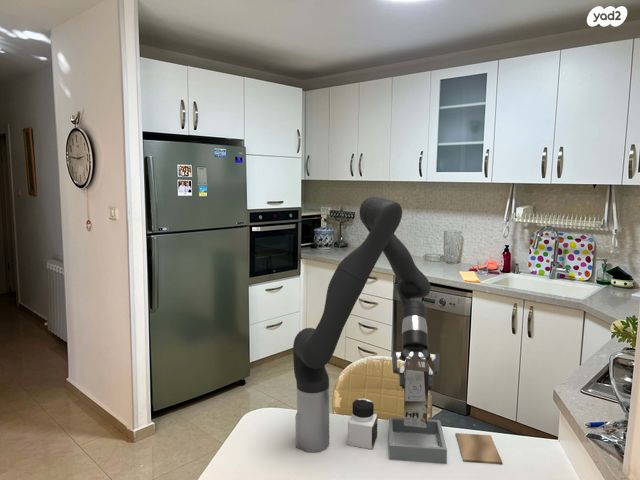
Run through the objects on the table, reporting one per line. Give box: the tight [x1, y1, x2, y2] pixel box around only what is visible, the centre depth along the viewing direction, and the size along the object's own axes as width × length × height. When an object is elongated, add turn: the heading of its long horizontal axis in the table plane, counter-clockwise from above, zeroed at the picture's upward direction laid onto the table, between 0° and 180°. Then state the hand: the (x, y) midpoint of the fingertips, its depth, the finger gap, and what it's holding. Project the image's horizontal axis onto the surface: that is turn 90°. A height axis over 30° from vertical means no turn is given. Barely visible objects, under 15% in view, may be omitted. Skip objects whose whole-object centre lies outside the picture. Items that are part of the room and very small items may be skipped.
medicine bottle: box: [347, 398, 378, 450], centre depth 130 cm, size 7×7×12 cm
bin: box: [388, 416, 448, 465], centre depth 128 cm, size 15×15×4 cm
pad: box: [455, 432, 503, 465], centre depth 127 cm, size 10×13×1 cm
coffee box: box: [403, 358, 430, 428], centre depth 127 cm, size 9×6×16 cm
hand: (416, 388), depth 127 cm, fingers closed on coffee box, 6 cm apart
